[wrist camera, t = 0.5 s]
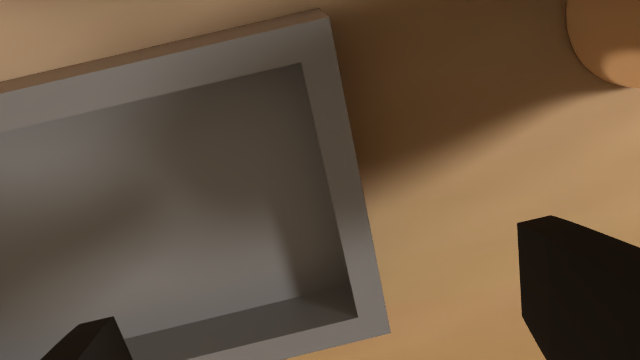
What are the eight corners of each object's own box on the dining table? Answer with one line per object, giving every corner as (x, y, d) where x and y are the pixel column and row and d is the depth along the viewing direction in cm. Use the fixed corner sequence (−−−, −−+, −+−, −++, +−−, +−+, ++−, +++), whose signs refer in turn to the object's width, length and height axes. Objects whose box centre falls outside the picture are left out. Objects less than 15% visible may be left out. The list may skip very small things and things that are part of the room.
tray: (375, 290, 21) (390, 333, 19) (-20, 386, 21) (-56, 442, 18) (318, 8, 17) (329, 17, 14) (-186, 125, 16) (-261, 154, 14)
